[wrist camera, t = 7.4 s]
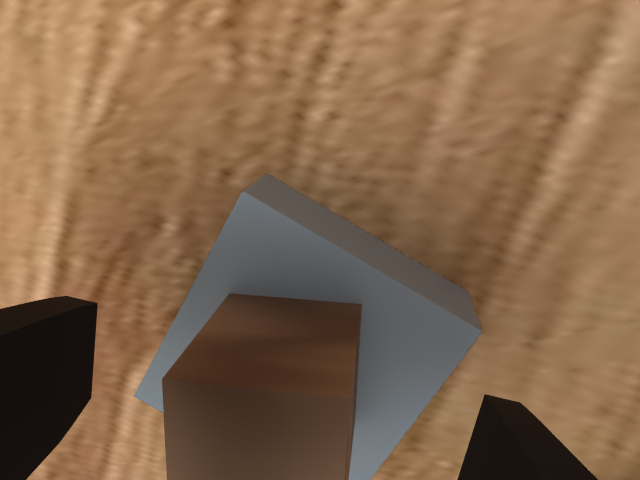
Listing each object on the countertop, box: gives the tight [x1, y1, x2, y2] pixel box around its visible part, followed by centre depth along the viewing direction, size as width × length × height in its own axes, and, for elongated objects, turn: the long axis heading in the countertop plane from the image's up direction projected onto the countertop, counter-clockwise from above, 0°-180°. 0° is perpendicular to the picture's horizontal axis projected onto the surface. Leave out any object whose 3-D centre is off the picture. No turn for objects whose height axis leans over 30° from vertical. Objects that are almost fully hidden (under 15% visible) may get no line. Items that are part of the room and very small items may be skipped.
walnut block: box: [162, 293, 362, 480], centre depth 14 cm, size 4×4×5 cm
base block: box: [134, 173, 483, 480], centre depth 18 cm, size 8×8×4 cm
